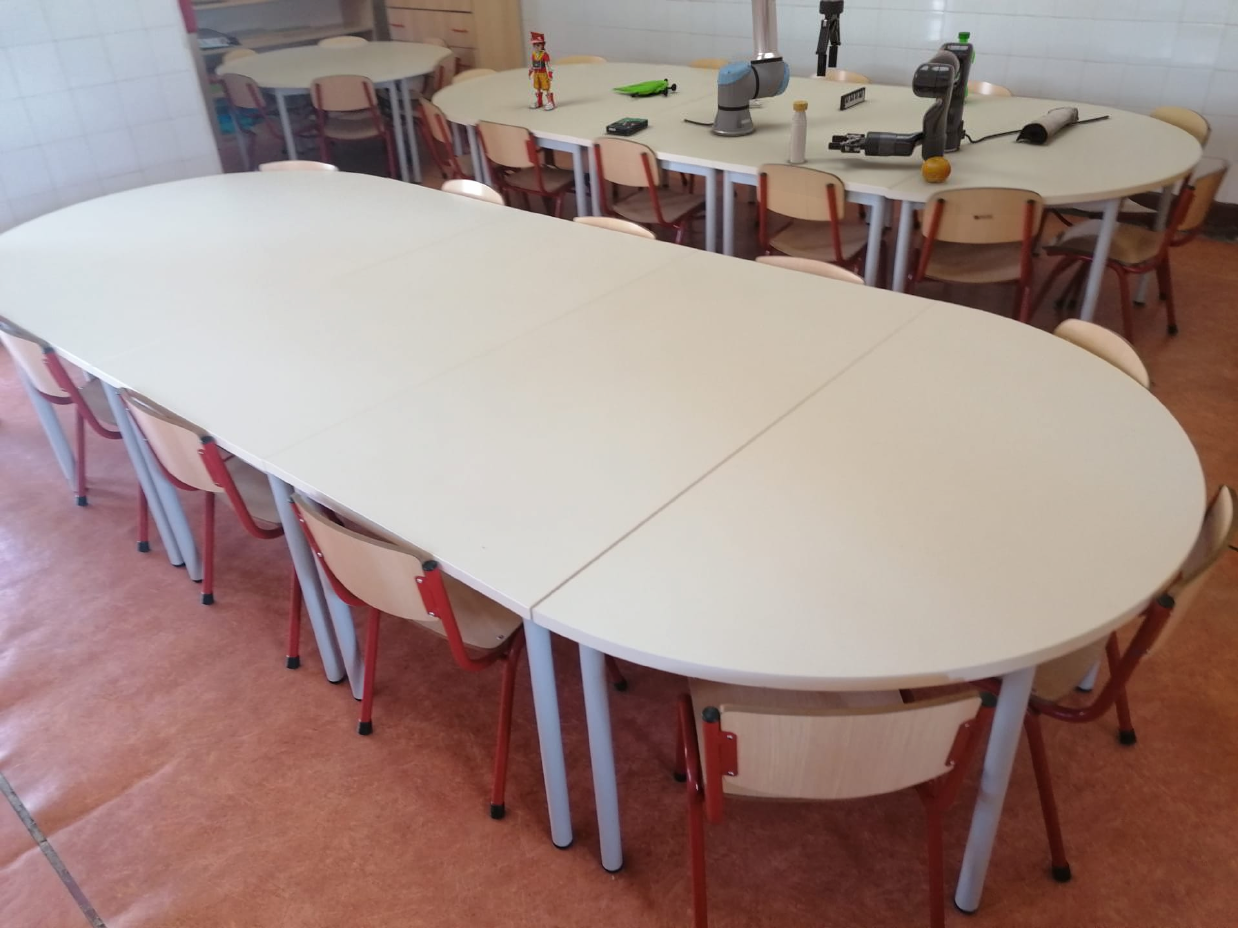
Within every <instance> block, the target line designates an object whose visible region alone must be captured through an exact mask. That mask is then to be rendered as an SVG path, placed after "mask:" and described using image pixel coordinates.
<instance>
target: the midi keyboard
mask: <svg viewBox="0 0 1238 928" xmlns="http://www.w3.org/2000/svg"><path fill="white" fill-rule="evenodd" d="M866 90H867V89H866V87H865V86H863V87H860V88H857V89H855V90H852V91H850V92H848V93H845V94H843V95H841V96H840V102H839V110H840V111H841V110H845V109H847V108H849V107H851V106H854V105H856V104H858V103H861V102H863V101H865V99H866Z"/></svg>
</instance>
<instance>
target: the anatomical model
mask: <svg viewBox="0 0 1238 928" xmlns="http://www.w3.org/2000/svg"><path fill="white" fill-rule="evenodd" d="M756 100H757V99H753V100H749V109H750V108H751V107H761V106H762V105H763V104H762V102H758V101H756Z"/></svg>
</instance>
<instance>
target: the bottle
mask: <svg viewBox="0 0 1238 928" xmlns="http://www.w3.org/2000/svg"><path fill="white" fill-rule="evenodd" d="M807 119H808V118H807V112H806V110H805V111H795V110H794V114H793V117H792V121H791V132H790V149H789V163H790V164H803V163H805V160H806V148H807V147H806V146H807V145H806V144H807V132H808V120H807Z"/></svg>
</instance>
